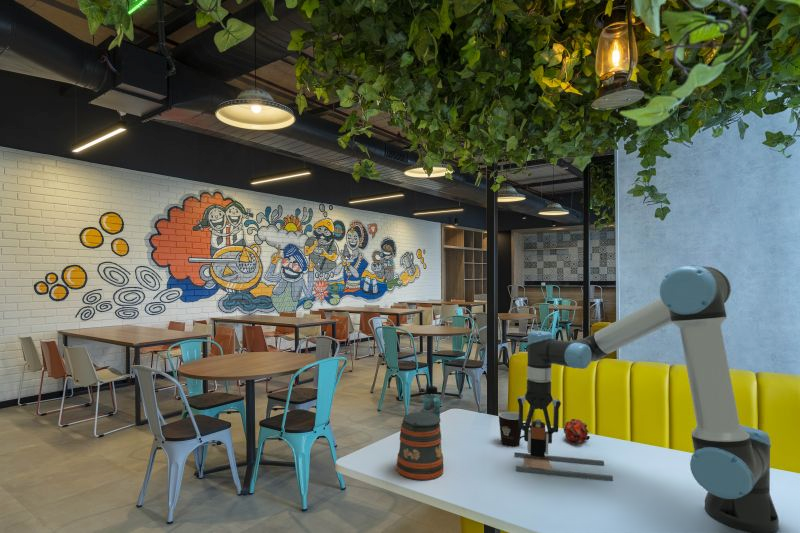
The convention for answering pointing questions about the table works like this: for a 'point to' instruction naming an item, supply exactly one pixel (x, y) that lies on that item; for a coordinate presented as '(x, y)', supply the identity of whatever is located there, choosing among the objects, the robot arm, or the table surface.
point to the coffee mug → (510, 429)
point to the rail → (544, 467)
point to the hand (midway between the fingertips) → (537, 452)
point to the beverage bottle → (436, 400)
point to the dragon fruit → (576, 431)
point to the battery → (537, 438)
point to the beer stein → (421, 445)
